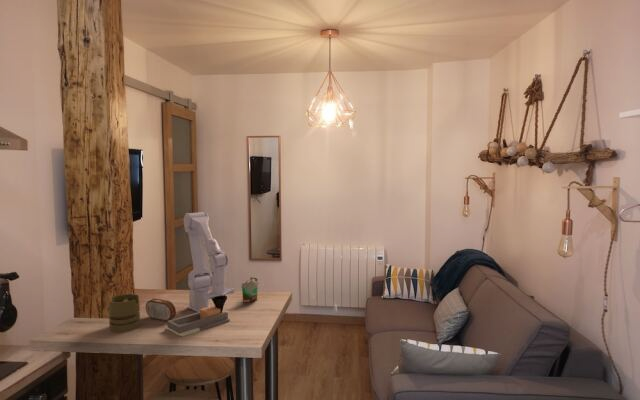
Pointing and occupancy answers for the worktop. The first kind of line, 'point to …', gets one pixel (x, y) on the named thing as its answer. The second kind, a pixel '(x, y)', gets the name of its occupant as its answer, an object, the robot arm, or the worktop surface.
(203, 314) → the block
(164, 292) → the worktop surface
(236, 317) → the worktop surface
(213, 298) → the robot arm
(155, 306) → the tin
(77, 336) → the worktop surface
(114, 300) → the piston
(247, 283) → the food container
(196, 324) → the chute
